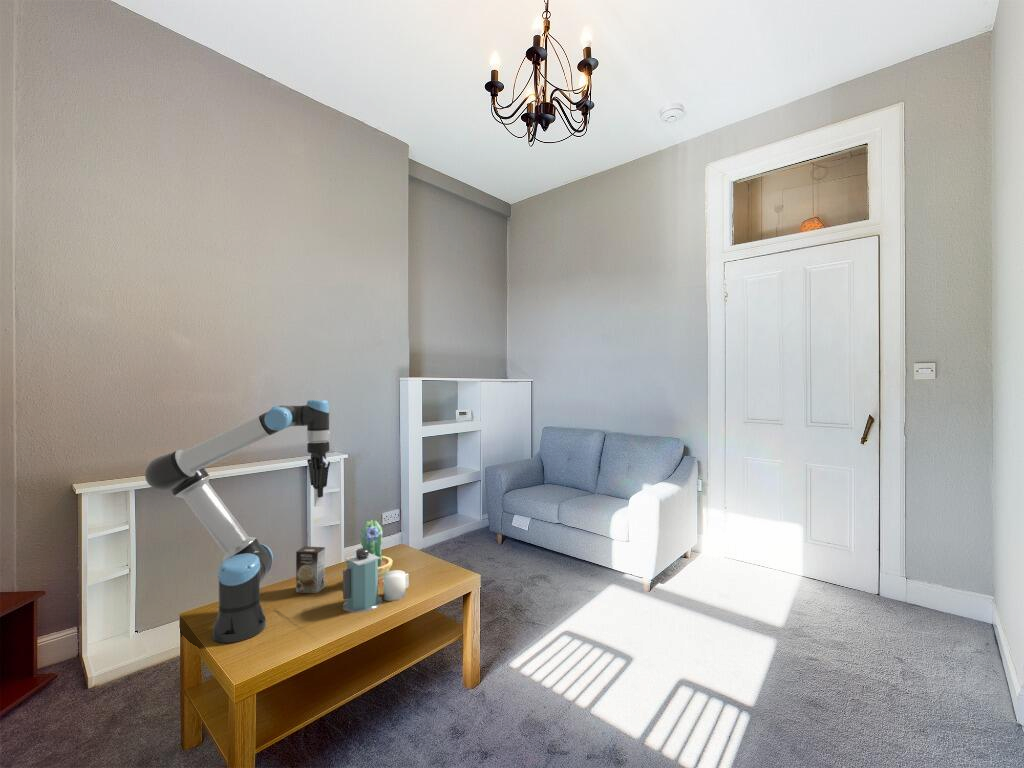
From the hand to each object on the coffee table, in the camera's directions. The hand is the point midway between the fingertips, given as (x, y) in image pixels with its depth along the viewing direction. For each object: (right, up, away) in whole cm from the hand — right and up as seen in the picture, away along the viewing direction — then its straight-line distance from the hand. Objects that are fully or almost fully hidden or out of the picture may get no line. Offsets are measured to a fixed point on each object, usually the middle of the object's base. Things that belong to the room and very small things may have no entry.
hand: (318, 505), depth 172 cm
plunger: (+17, -33, -1) cm, 36 cm away
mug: (+28, -36, +5) cm, 46 cm away
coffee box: (-8, -37, +13) cm, 40 cm away
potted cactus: (+15, -37, +19) cm, 44 cm away
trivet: (+17, -36, -1) cm, 40 cm away
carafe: (+16, -35, -2) cm, 39 cm away
